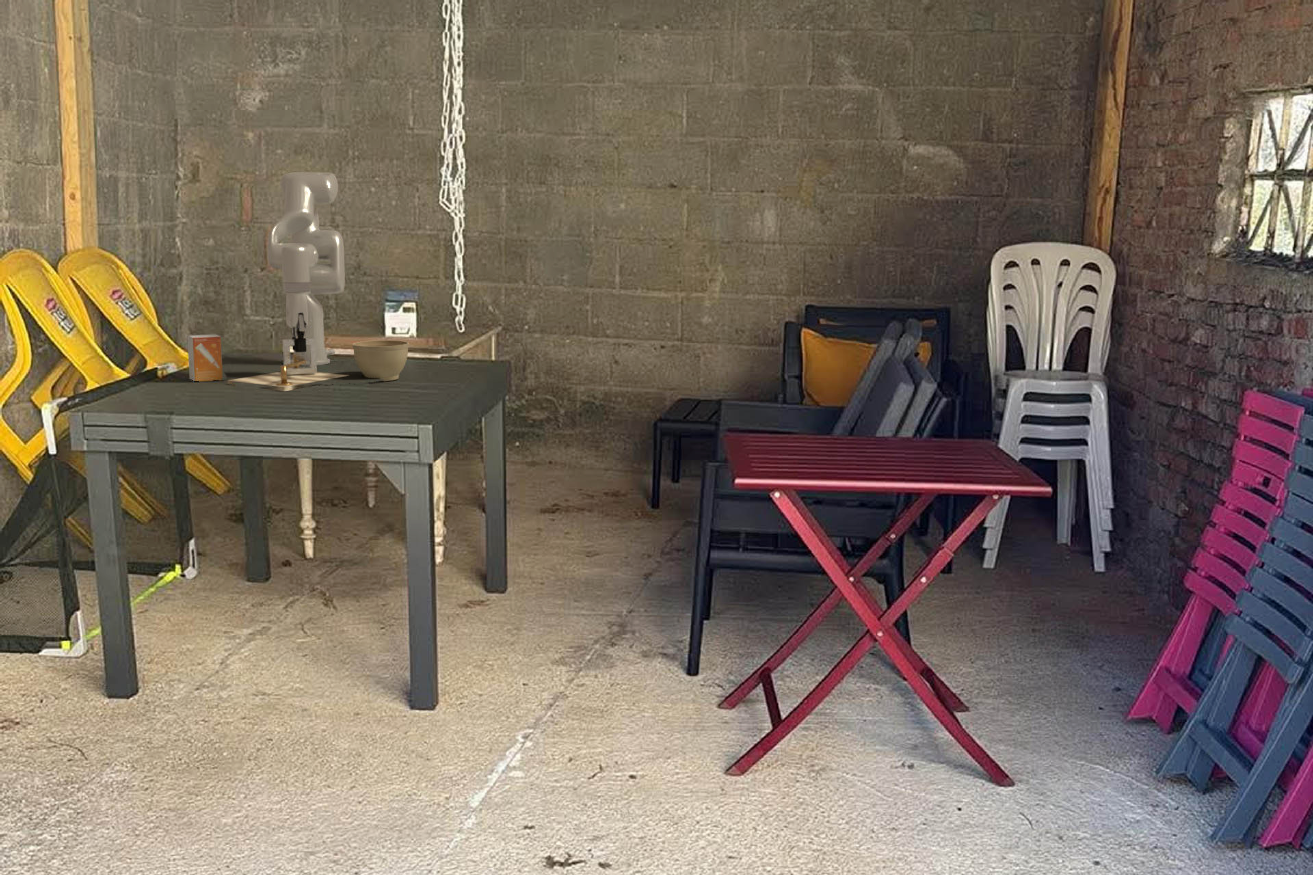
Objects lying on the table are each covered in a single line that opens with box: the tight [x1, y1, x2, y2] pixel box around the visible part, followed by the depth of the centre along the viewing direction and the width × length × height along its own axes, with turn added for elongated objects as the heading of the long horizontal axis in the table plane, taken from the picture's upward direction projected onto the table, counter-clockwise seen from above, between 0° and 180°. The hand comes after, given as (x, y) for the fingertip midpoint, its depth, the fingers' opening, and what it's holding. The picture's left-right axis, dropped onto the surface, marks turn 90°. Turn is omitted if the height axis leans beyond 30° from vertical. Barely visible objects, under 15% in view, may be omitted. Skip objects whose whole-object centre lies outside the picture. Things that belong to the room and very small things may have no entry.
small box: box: [186, 333, 224, 382], centre depth 372 cm, size 8×6×13 cm
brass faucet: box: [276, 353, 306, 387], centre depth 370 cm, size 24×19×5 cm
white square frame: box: [282, 338, 318, 375], centre depth 376 cm, size 3×9×10 cm, turn 115°
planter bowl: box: [352, 339, 410, 382], centre depth 376 cm, size 16×16×11 cm
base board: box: [227, 371, 350, 392], centre depth 371 cm, size 26×22×1 cm
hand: (299, 350), depth 375 cm, fingers closed on white square frame, 3 cm apart
